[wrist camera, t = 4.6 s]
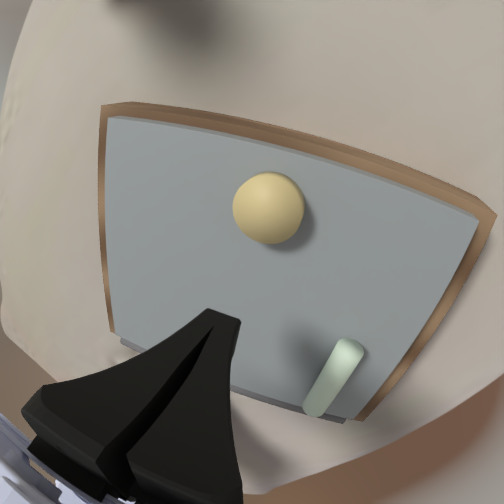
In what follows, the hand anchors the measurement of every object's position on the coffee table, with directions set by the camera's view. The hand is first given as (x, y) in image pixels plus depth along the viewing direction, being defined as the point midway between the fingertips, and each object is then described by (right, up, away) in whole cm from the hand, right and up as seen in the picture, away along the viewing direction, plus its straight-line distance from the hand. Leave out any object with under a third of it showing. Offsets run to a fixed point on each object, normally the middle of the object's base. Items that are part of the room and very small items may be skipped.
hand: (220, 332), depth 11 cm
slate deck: (+1, 0, +6) cm, 6 cm away
